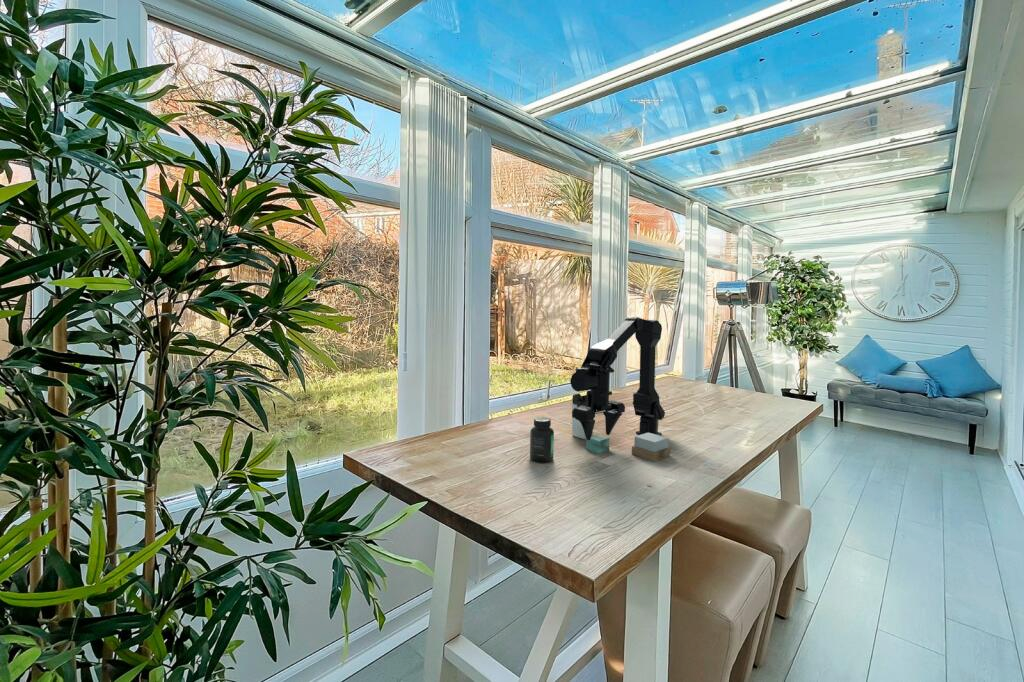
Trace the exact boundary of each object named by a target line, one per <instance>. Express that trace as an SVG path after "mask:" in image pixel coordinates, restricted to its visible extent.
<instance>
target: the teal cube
mask: <svg viewBox="0 0 1024 682" xmlns="http://www.w3.org/2000/svg"><path fill="white" fill-rule="evenodd" d="M585 440H586V444H585V447H586V448H585V449H586V450H588V451H590V452H593V453H596V454H601V453H604V452H605V453H606V452H607V451H610V443H611V441H610V437H609V436H608V437H607V436H604V435H601V434H597V433H596V434H593V435H592V436H591V439H590V440H587V439H585Z"/></svg>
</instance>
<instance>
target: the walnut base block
mask: <svg viewBox="0 0 1024 682" xmlns="http://www.w3.org/2000/svg"><path fill="white" fill-rule="evenodd" d="M631 455H633V456H636V457H638V458H640V459H645V460H648V461H651V462H655V463H656V462H658V461H661V460H663V459H666V458H669V457H671V447H670V446H668V448H665V449H663V450H660V451H657V452H652V451H648V450H645V449H642V448H638V447H635V446H634V445H632V446H631Z"/></svg>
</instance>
